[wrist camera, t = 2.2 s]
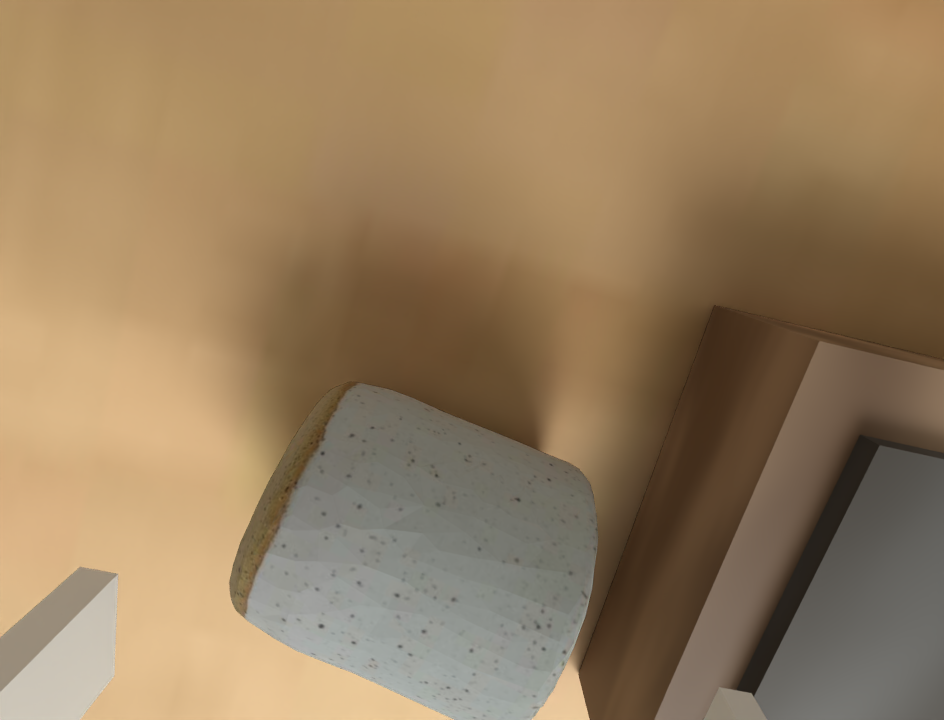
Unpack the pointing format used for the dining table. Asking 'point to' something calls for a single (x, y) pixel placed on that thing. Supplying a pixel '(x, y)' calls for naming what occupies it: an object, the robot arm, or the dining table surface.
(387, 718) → the dining table surface
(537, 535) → the ceramic mug
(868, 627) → the walnut base
